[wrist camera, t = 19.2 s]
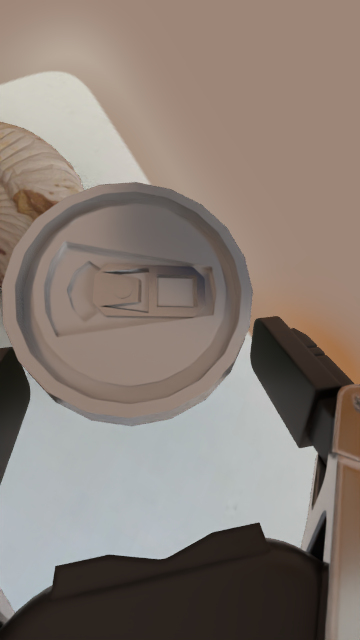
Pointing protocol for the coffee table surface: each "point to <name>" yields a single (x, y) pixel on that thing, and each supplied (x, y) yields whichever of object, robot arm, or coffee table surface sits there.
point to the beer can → (127, 303)
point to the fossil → (28, 184)
